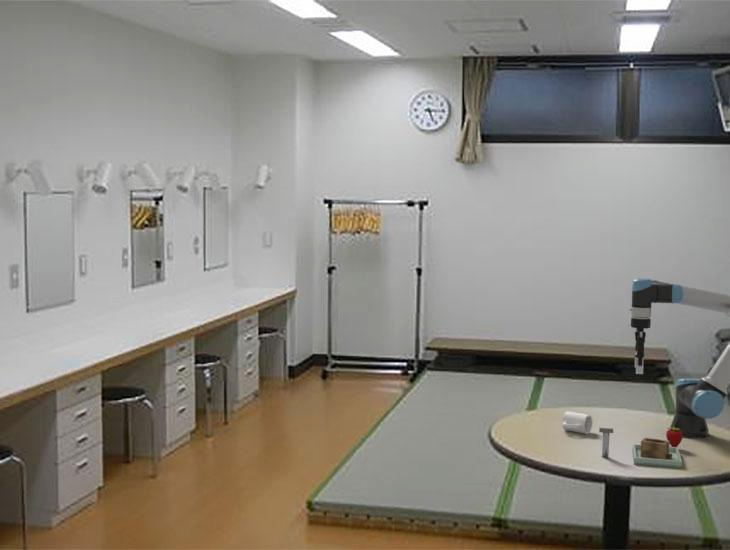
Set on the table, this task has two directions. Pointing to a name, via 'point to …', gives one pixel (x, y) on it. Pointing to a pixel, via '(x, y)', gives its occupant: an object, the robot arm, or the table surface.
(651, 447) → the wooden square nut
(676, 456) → the tray
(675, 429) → the strawberry
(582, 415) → the mug
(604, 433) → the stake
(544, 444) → the table surface
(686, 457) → the table surface
